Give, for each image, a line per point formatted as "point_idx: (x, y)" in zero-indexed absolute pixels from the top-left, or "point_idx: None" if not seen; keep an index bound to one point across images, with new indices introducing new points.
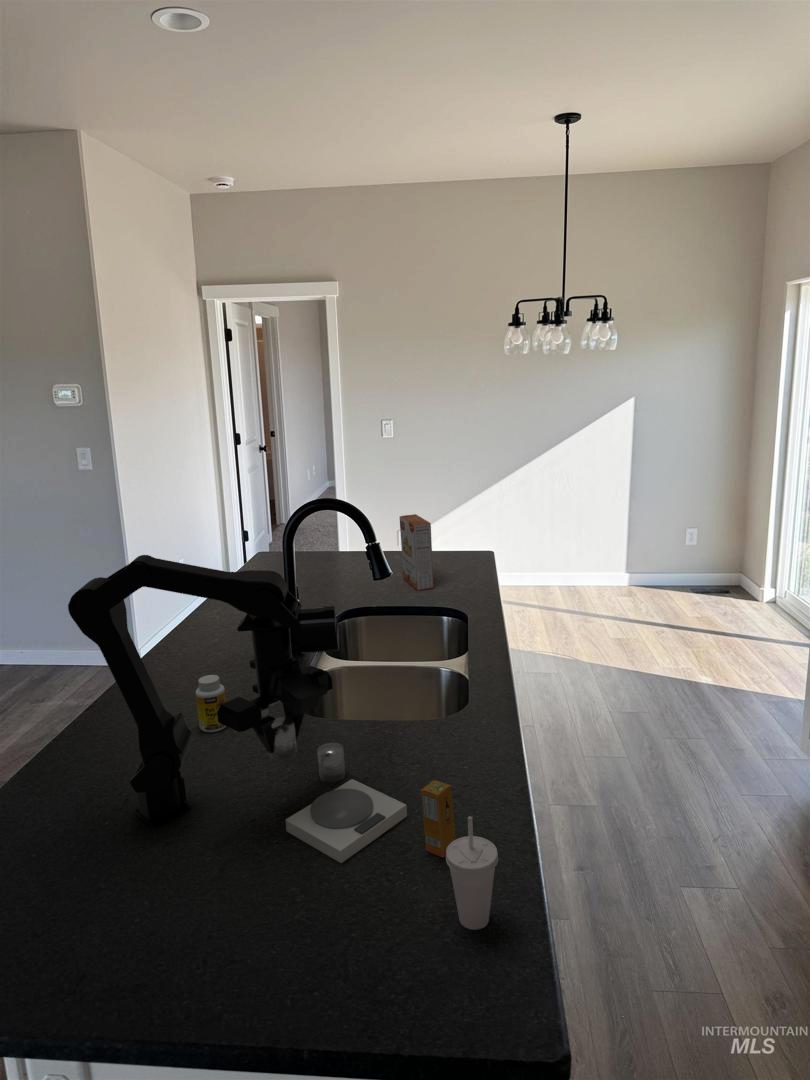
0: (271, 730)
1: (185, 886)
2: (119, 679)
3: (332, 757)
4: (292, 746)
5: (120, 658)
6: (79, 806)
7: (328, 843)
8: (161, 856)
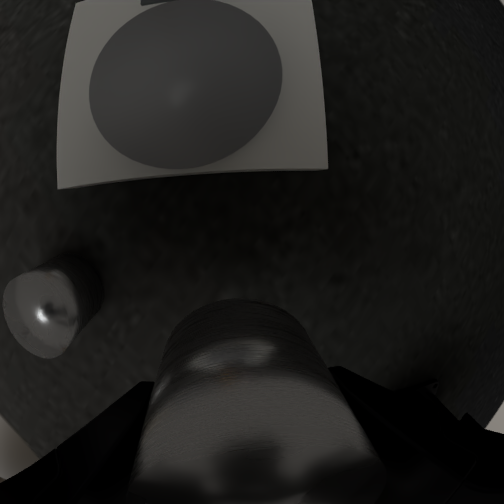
0: (439, 456)
1: (495, 202)
2: None
3: (46, 280)
4: (225, 327)
5: None
6: None
7: (311, 11)
8: (475, 303)
